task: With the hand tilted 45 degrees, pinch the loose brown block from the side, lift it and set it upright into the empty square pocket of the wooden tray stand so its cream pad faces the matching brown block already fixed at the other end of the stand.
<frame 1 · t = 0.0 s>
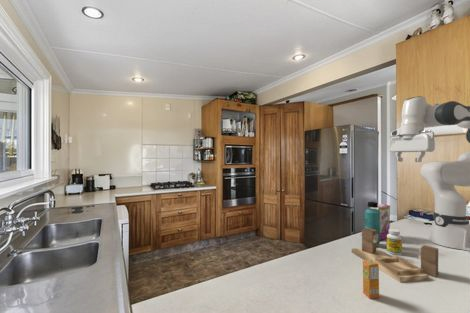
hand: (408, 161, 107), 39 cm above the countertop, tool pointing down, fingers open, 8 cm apart
supplement box: (370, 296, 69), on the countertop
supplement bottle: (394, 253, 100), on the countertop
beverage bottle: (372, 245, 108), on the countertop
wooden tray stand: (385, 264, 89), on the countertop
candy bar box: (379, 238, 118), on the countertop
brown block: (429, 273, 82), on the countertop
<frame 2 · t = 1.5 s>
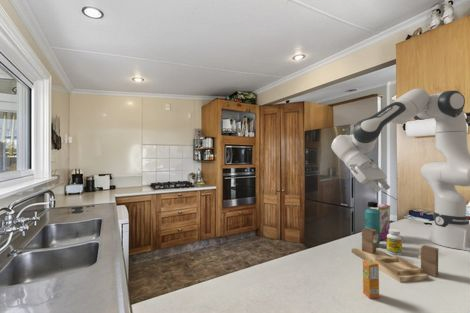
hand: (384, 189, 95), 28 cm above the countertop, tool tilted 45°, fingers open, 8 cm apart
nothing on the countertop moved.
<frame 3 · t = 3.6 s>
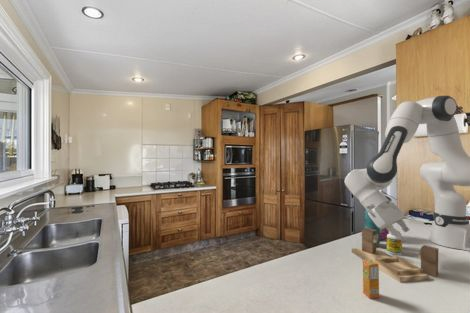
hand: (403, 233, 88), 12 cm above the countertop, tool tilted 45°, fingers open, 8 cm apart
nothing on the countertop moved.
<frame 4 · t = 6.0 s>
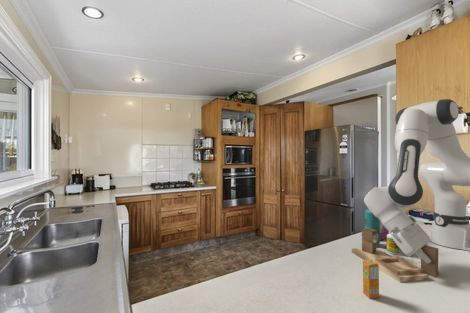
hand: (431, 260, 82), 5 cm above the countertop, tool tilted 45°, fingers closed on brown block, 4 cm apart
brown block: (429, 273, 82), on the countertop, touching gripper
everything else where it was.
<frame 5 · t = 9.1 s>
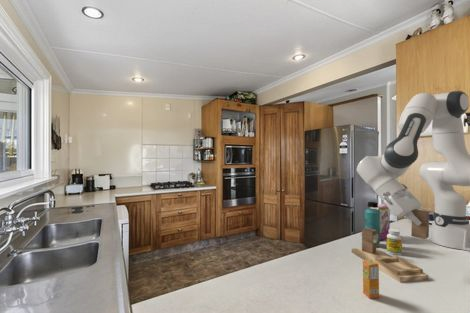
hand: (422, 223, 82), 18 cm above the countertop, tool tilted 45°, fingers closed on brown block, 4 cm apart
brown block: (420, 236, 83), point 13 cm above the countertop, touching gripper
everything else where it was.
when the fingers open (8 cm above the countertop, at t = 12.2 s): brown block drops 2 cm, resting on wooden tray stand.
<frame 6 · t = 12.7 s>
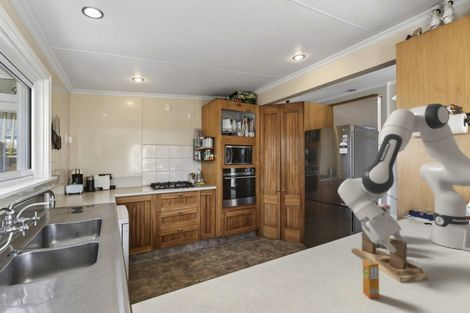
hand: (399, 248, 83), 8 cm above the countertop, tool tilted 45°, fingers open, 8 cm apart
brown block: (397, 266, 84), point 2 cm above the countertop, touching wooden tray stand
everything else where it was.
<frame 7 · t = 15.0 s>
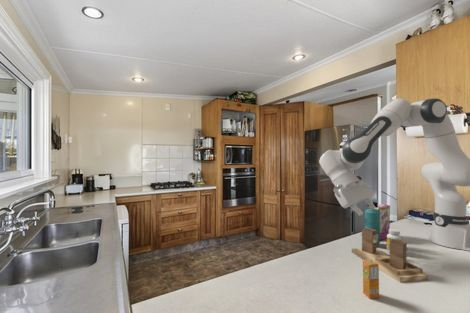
hand: (367, 211, 94), 19 cm above the countertop, tool tilted 40°, fingers open, 8 cm apart
nothing on the countertop moved.
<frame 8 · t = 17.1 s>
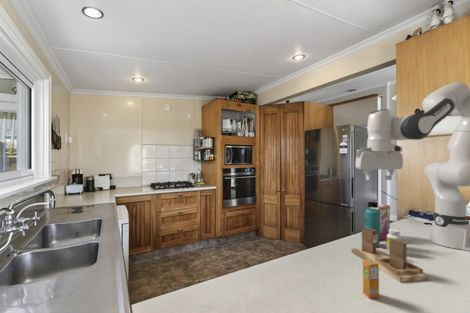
hand: (378, 180, 100), 31 cm above the countertop, tool pointing down, fingers open, 8 cm apart
nothing on the countertop moved.
at the end: brown block inside the target area (0.1 cm from its centre), point 1.5 cm above the countertop; brown block tilted 0°; the gripper is holding nothing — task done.
